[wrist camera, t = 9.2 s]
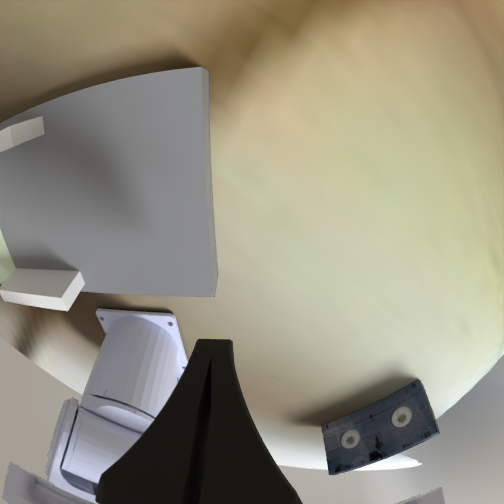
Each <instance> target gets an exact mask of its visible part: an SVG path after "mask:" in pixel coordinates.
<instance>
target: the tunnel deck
mask: <svg viewBox="0 0 504 504" xmlns="http://www.w3.org/2000/svg"><path fill="white" fill-rule="evenodd" d="M217 279H218V268H217V255H216V241H215V227H214V211H213V194H212V174H211V151H210V121H209V71H208V70H206V69H204V68H203V67H194V68H184V69H176V70H168V71H161V72H155V73H149V74H143V75H138V76H133V77H128V78H123V79H119V80H115V81H111V82H107V83H103V84H99V85H95V86H92V87H89V88H85V89H82V90H79V91H76V92H72V93H69V94H67V95H64V96H61V97H58V98H55V99H53V100H50V101H47V102H45V103H42V104H40V105H38V106H35V107H33V108H30V109H28V110H26V111H24V112H22V113H19V114H17V115H15V116H13V117H11V118H9V119H7V120H5V121H3V122H1V123H0V283H2V285H1V286H0V294H1V296H2V298H3V300H4V301H7V302H12V303H18V304H24V305H29V306H35V307H42V308H48V309H55V310H62V311H69V309H70V307H71V305H72V304H73V302H74V300H75V299H76V297H77V296H78V294H79V292H80V291H81V292H95V293H111V294H129V295H151V296H183V297H215V294H216V286H217Z"/></svg>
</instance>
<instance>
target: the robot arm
mask: <svg viewBox="0 0 504 504" xmlns="http://www.w3.org/2000/svg"><path fill="white" fill-rule="evenodd" d="M96 315H97V317H98V319H99V321H100V323H101V325H102V327H103V329H104V331H105V333H106V336H105V338H104V341H103V343H102V346H101V348H100V350H99V353H98V355H97V358H96V360H95V363H94V366H93V368H92V371H91V374H90V376H89V379H88V382H87V384H86V387H85V390H84V393H83V396H82V397H81V399H80V401H79V403H78V400H77V399H75V398H73V397H72V398H71V399H68V400H65V401H64V403H63V406H62V409H61V412H60V415H59V418H58V421H57V424H56V427H55V430H54V434H53V437H52V441H51V444H50V448H49V451H48V455H47V456H48V462H47V466H46V471H45V473H46V475H48V478H47V480H45V479H43V478H41V477H39V476H37V475H35V474H33V473H30V472H28V471H26V470H25V469H23V468H21V467H20V466H18V465H16V464H14V463H12V462H10V463H9V466H8V471H7V475H6V480H5V485H4V491H3V496H2V498H3V500H5V501H6V502H7V503H9V504H303V503H302V502H301V500H300V498H299V496H298V494H297V492H296V491H295V489H294V488H293V487H292V486H291V484H290V483H289V482H288V480H287V479H286V478H285V476H284V475H283V473H282V472H281V470H280V469H279V467H278V466H277V464H276V463H275V461H274V459H273V458H272V456H271V454H270V453H269V451H268V449H267V447H266V446H265V444H264V442H263V440H262V438H261V436H260V434H259V432H258V430H257V428H256V426H255V424H254V422H253V420H252V417H251V415H250V413H249V410H248V408H247V405H246V403H245V400H244V397H243V394H242V391H241V388H240V385H239V381H238V378H237V374H236V370H235V364H234V353H233V341H231V340H230V339H198V340H197V342H196V344H195V347H194V350H193V352H192V355H191V357H190V359H189V361H188V360H187V357H186V353H185V350H184V347H183V343H182V339H181V336H180V332H179V329H178V325H177V321H176V317H175V316H174V315H173V314H171V313H156V312H139V311H125V310H112V309H100V308H99V309H97V311H96ZM171 322H172V323H171ZM396 504H445V500H444V495H443V491H442V487H439V488H436V489H434V490H431V491H429V492H427V493H424V494H420V495H417V496H414V497H411V498H409V499H406V500H404V501H401V502H398V503H396Z"/></svg>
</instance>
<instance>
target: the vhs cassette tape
mask: <svg viewBox="0 0 504 504" xmlns="http://www.w3.org/2000/svg"><path fill="white" fill-rule="evenodd" d="M322 433H323V436H324V437H323V438H324V444H325V450H326V457H327V459H326V460H327V465H328V471H329V475H337V474H340V473H343V472H347V471H351V470H354V469H357V468H360V467H363V466H366V465H369V464H372V463H375V462H377V461H380V460H383V459H386V458H388V457H391V456H393V455H396V454H398V453H400V452H403V451H405V450H407V449H409V448H411V447H413V446H415V445H418V444H420V443H422V442H424V441H426V440H428V439H430V438H432V437H434V436H436V435H438V434H440V432H439V429H438V425H437V423H436V420H435V416H434V413H433V410H432V408H431V405H430V402H429V400H428V397H427V394H426V391H425V389H424V386H423V384H422V383H421V381H420V380H416V381H414V382H413V383H411V384H409V385H407V386H406V387H404V388H402V389H400V390H398V391H397V392H395V393H393V394H391V395H389V396H387V397H385V398H383V399H381V400H379V401H377V402H375V403H373V404H371V405H369V406H367V407H365V408H362V409H360V410H358V411H356V412H354V413H351V414H349V415H347V416H344V417H342V418H339V419H337V420H334V421H332V422H329V423H327V424H324V425H322Z"/></svg>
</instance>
